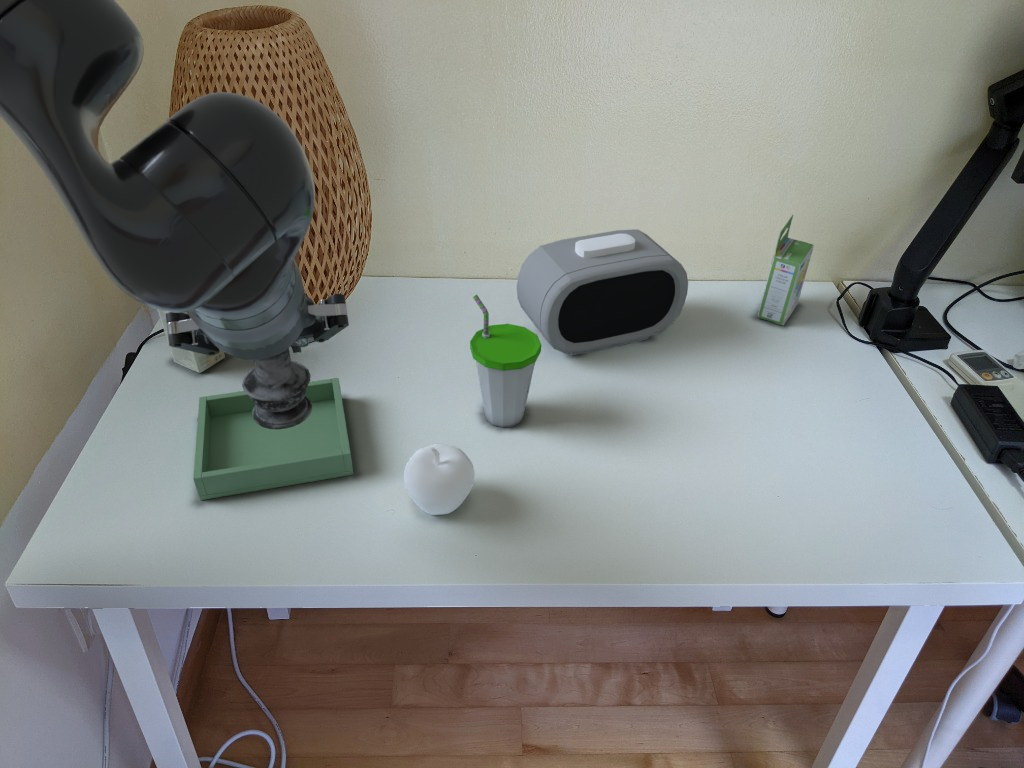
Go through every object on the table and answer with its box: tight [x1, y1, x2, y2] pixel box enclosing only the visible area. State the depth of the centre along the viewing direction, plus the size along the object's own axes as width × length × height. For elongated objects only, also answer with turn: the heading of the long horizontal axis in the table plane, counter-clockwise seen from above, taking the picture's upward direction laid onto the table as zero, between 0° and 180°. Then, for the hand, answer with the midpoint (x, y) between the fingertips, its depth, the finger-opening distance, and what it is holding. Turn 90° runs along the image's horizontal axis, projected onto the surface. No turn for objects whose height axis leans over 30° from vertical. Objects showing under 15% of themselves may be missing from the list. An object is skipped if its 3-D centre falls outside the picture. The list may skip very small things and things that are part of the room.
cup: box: [469, 293, 542, 428], centre depth 87 cm, size 8×8×15 cm
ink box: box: [757, 214, 815, 326], centre depth 107 cm, size 7×4×13 cm, turn 148°
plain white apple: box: [403, 442, 476, 516], centre depth 77 cm, size 7×7×8 cm
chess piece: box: [241, 347, 312, 430], centre depth 67 cm, size 6×6×12 cm
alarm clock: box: [516, 228, 689, 357], centre depth 102 cm, size 21×10×13 cm, turn 112°
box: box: [156, 309, 226, 374], centre depth 95 cm, size 5×4×11 cm
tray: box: [192, 377, 354, 501], centre depth 85 cm, size 16×14×3 cm
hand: (271, 344), depth 68 cm, fingers closed on chess piece, 3 cm apart
